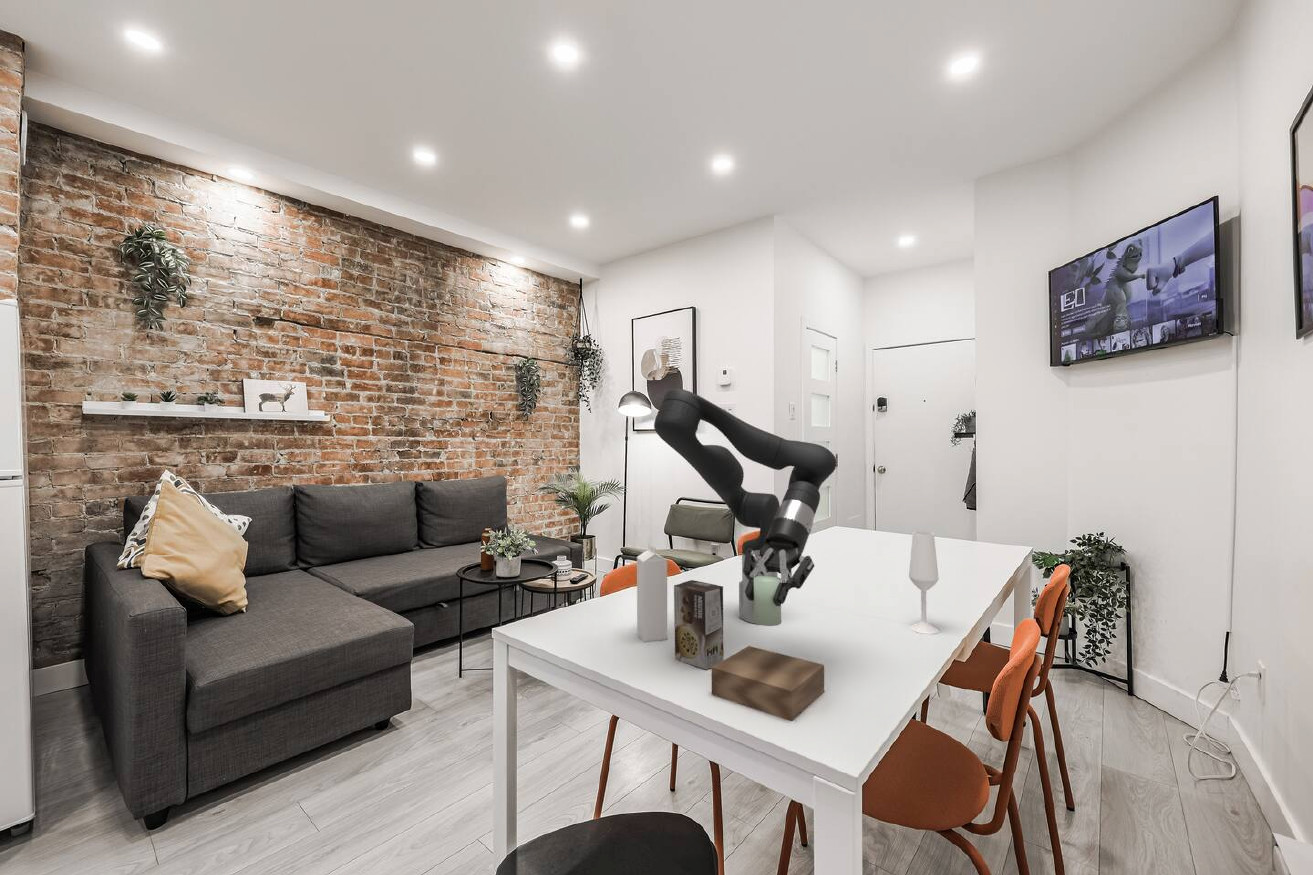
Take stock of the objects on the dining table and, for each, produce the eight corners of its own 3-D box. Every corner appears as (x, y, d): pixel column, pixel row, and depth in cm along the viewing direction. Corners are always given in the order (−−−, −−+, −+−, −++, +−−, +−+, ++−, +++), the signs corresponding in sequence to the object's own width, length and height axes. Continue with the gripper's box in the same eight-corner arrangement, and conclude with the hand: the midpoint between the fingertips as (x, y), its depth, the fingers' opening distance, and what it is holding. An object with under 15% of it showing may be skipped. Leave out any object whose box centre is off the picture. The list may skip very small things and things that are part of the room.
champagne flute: (934, 635, 135) (933, 536, 135) (905, 629, 139) (904, 533, 139) (942, 628, 140) (941, 532, 140) (914, 623, 144) (913, 529, 144)
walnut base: (711, 694, 104) (711, 667, 104) (748, 670, 115) (748, 645, 115) (791, 720, 94) (791, 690, 94) (824, 691, 105) (824, 664, 105)
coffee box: (725, 661, 119) (724, 586, 119) (705, 670, 115) (705, 591, 115) (692, 650, 126) (692, 578, 126) (673, 658, 121) (672, 584, 121)
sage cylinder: (749, 622, 104) (748, 579, 104) (761, 615, 108) (761, 574, 108) (773, 627, 101) (773, 583, 101) (785, 620, 105) (785, 578, 105)
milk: (643, 642, 131) (642, 548, 131) (636, 634, 137) (636, 543, 137) (668, 639, 133) (667, 546, 133) (660, 631, 138) (659, 542, 138)
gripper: (752, 513, 115) (721, 583, 105) (819, 519, 106) (792, 596, 97) (764, 535, 119) (736, 605, 110) (830, 543, 110) (805, 619, 101)
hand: (762, 600), depth 103 cm, fingers closed on sage cylinder, 5 cm apart
